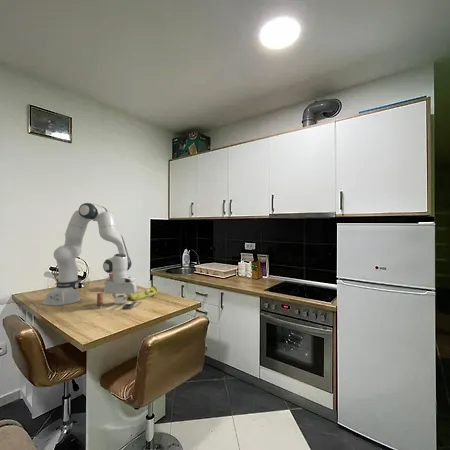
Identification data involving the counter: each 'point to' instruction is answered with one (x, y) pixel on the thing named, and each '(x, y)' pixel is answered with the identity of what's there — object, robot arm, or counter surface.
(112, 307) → the beige flat block
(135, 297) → the plastic component
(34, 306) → the counter surface
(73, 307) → the counter surface
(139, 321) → the counter surface
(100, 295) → the brown rounded cylinder
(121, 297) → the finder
